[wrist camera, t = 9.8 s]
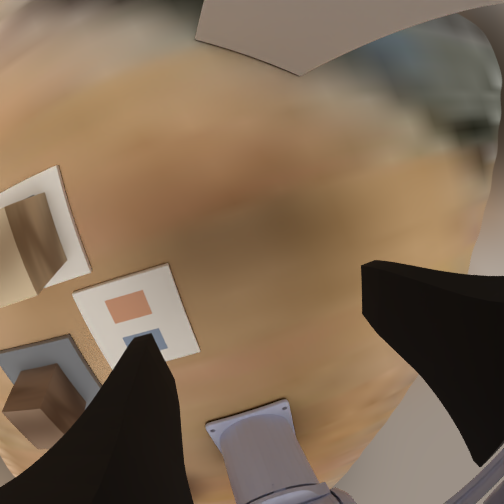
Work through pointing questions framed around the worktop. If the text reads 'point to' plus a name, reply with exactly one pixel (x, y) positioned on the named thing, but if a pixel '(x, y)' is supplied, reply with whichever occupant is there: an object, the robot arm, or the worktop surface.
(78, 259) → the code tile
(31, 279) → the oak block
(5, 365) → the slate coaster
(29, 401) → the walnut block
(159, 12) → the worktop surface
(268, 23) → the milk carton
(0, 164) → the worktop surface
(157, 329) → the code tile
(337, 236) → the worktop surface
